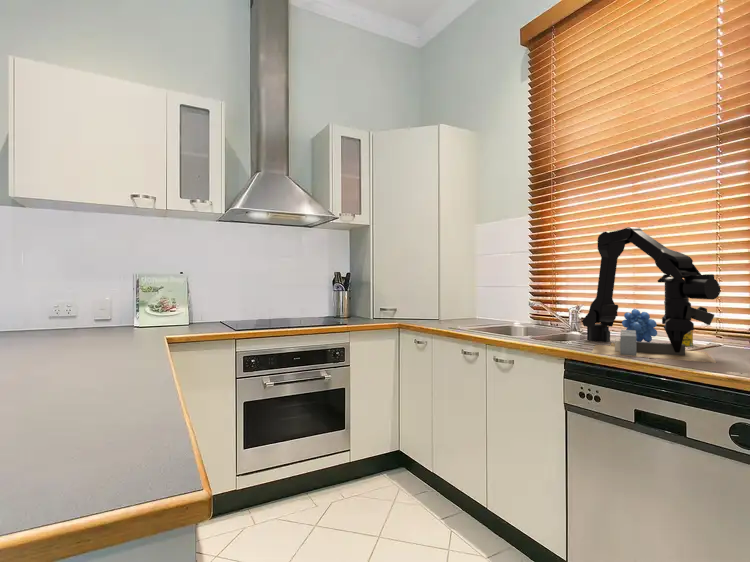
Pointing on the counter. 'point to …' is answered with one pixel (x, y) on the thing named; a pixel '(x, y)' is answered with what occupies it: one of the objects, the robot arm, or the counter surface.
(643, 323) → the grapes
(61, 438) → the counter surface
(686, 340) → the supplement bottle
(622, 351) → the grey boxy piece
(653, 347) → the grey and white bar
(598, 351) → the mounting board
